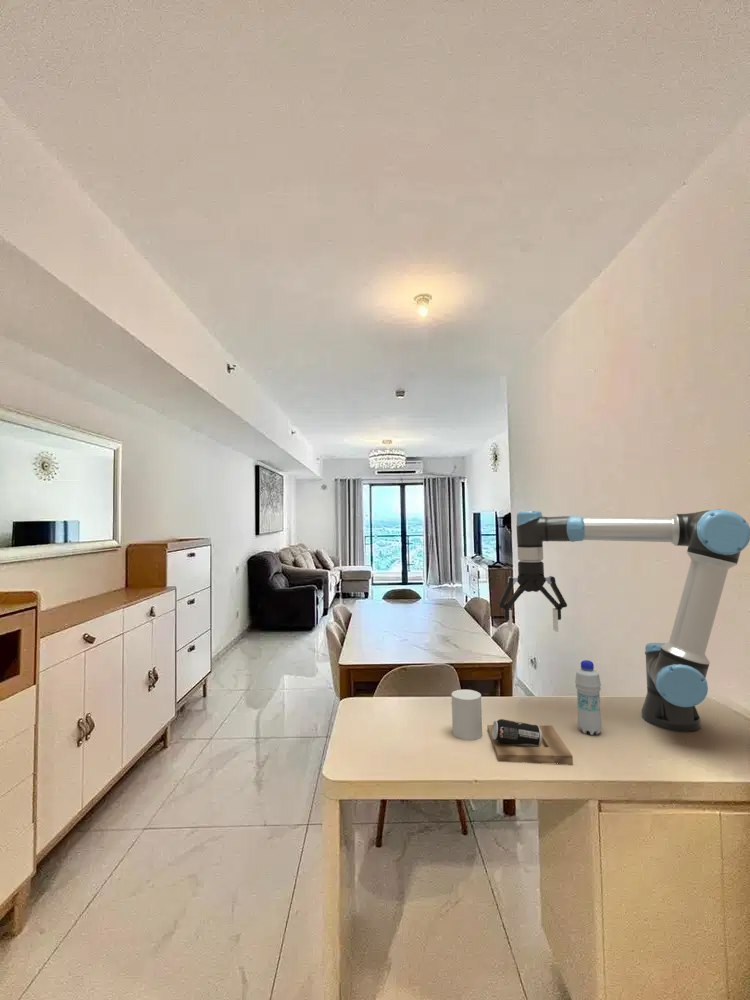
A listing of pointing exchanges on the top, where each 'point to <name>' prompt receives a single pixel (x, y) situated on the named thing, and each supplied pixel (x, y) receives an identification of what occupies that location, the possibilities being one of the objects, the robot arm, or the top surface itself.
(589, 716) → the bottle
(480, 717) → the cup
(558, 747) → the socket block
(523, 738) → the beverage can
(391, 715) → the top surface
